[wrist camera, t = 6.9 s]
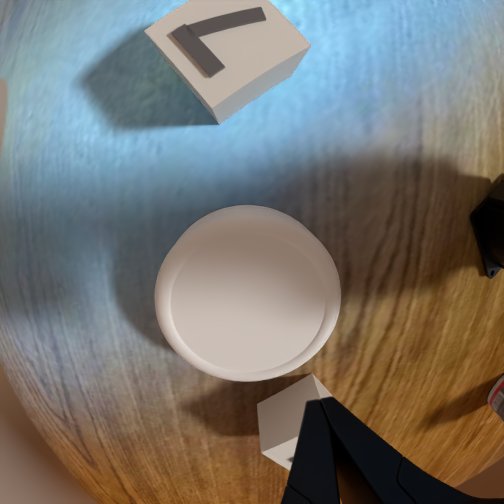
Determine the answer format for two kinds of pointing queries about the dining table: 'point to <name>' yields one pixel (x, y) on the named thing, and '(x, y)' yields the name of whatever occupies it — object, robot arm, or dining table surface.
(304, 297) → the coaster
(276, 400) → the block one
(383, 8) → the dining table surface
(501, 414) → the pill bottle
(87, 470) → the dining table surface
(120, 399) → the dining table surface
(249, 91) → the block seven
